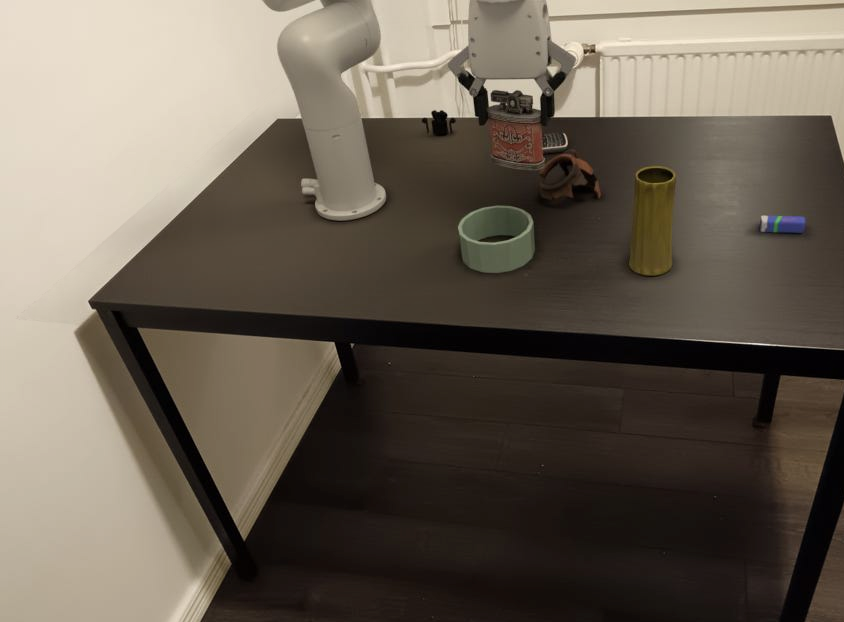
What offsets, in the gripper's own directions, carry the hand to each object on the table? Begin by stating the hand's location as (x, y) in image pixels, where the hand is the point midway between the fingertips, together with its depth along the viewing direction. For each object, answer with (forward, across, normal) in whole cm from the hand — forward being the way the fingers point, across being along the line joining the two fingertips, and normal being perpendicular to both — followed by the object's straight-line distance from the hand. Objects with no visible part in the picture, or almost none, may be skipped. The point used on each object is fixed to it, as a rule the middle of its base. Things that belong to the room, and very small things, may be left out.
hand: (515, 121), depth 102 cm
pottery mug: (+21, -4, -19) cm, 29 cm away
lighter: (+6, 0, 0) cm, 6 cm away
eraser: (+21, -37, -10) cm, 44 cm away
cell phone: (+21, +6, -36) cm, 42 cm away
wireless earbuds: (+21, +27, -42) cm, 54 cm away
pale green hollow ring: (+21, +4, 0) cm, 22 cm away
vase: (+21, -19, +1) cm, 28 cm away
